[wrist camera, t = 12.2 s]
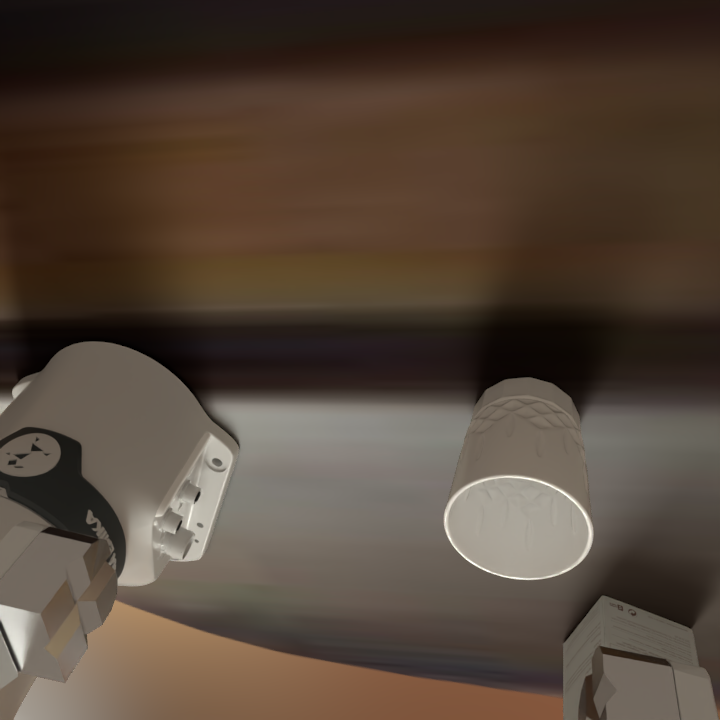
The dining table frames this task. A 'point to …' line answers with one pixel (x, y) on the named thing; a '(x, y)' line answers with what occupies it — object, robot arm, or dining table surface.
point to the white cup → (522, 484)
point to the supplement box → (620, 643)
